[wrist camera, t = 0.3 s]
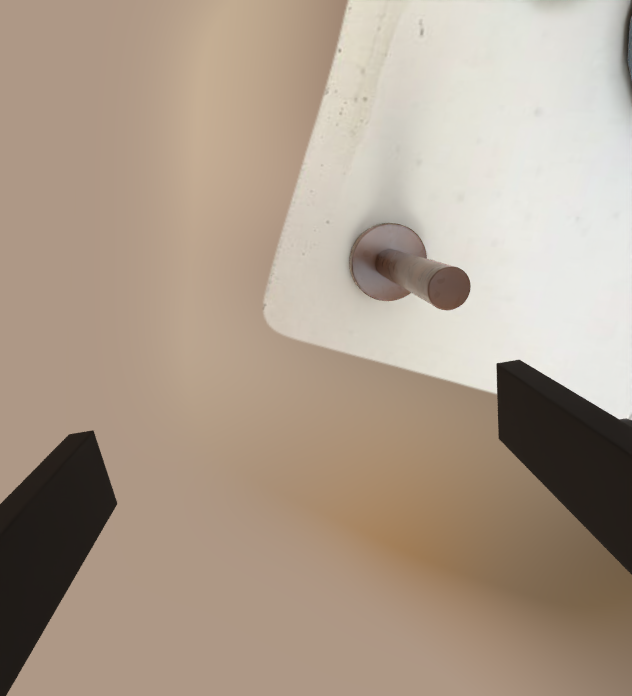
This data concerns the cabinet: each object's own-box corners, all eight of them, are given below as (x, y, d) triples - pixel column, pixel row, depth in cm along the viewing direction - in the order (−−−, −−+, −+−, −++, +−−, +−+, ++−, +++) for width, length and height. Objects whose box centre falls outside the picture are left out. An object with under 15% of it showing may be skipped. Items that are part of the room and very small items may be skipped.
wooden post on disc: (344, 229, 35) (384, 236, 21) (419, 217, 35) (507, 218, 21) (354, 303, 36) (396, 354, 23) (425, 292, 37) (508, 336, 23)
